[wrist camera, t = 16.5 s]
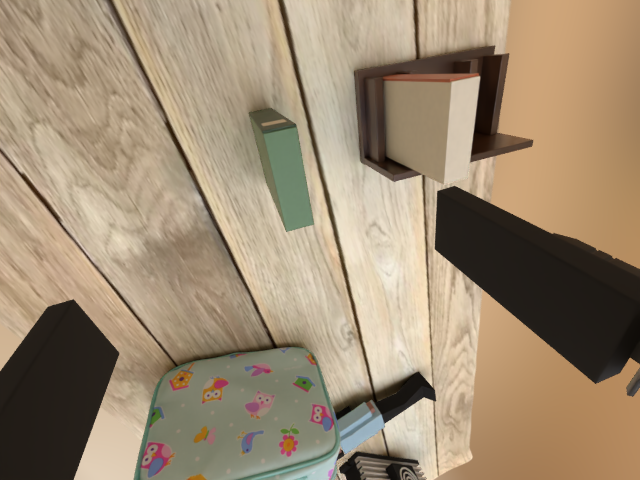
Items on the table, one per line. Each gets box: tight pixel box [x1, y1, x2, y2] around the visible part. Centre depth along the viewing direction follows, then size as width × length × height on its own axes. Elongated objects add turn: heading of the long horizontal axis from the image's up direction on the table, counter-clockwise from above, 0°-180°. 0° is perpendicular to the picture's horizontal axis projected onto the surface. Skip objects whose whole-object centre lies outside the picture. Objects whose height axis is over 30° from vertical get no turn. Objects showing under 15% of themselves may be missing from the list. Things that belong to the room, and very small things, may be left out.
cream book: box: [383, 73, 480, 185], centre depth 31 cm, size 9×3×14 cm, turn 8°
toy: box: [336, 372, 436, 461], centre depth 66 cm, size 10×8×30 cm
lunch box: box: [134, 347, 341, 480], centre depth 43 cm, size 27×10×21 cm, turn 85°
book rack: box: [354, 46, 533, 182], centre depth 35 cm, size 11×18×9 cm, turn 98°
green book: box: [249, 108, 314, 232], centre depth 30 cm, size 9×3×14 cm, turn 8°
